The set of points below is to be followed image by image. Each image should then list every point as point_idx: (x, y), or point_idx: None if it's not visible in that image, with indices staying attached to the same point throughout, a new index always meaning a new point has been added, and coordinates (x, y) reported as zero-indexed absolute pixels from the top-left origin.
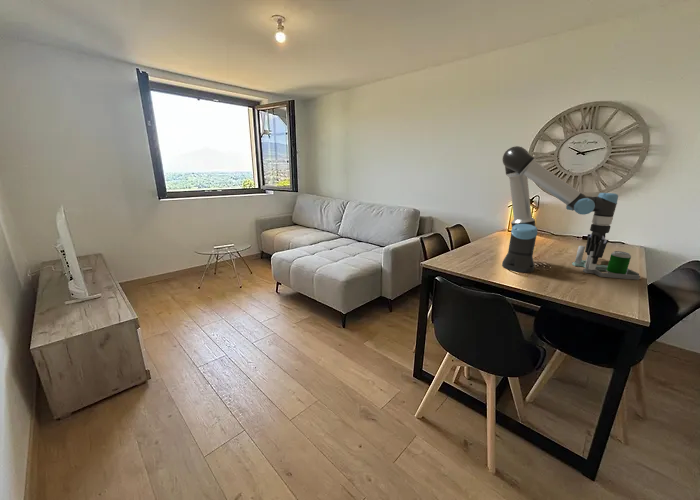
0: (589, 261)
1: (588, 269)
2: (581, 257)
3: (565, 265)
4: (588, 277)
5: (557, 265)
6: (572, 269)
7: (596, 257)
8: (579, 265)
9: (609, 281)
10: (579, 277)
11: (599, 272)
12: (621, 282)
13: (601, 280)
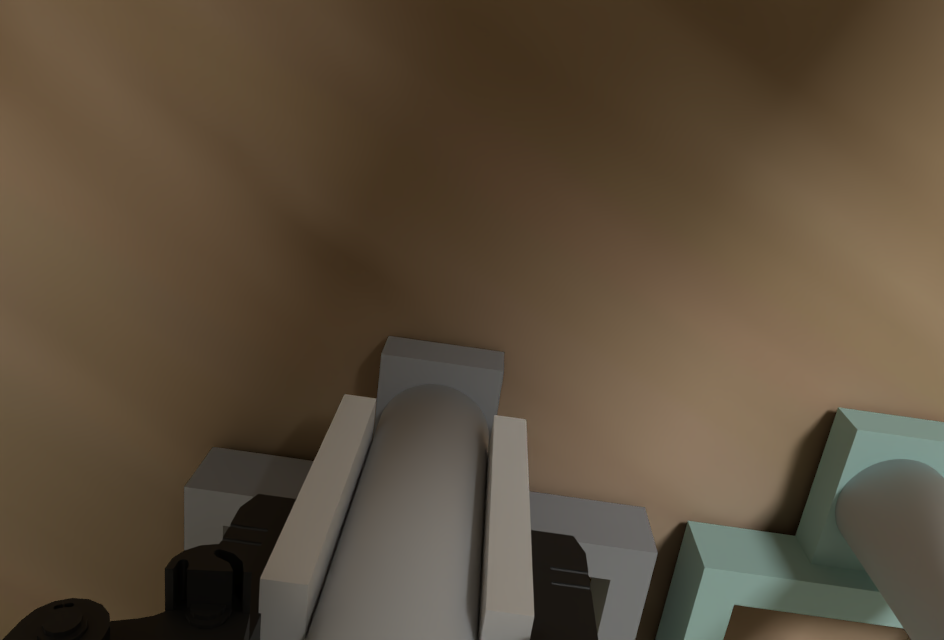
0: (381, 499)
1: (394, 406)
2: (907, 621)
3: (898, 240)
4: (138, 219)
5: (912, 34)
6: (617, 217)
7: (70, 612)
8: (818, 492)
9: (14, 447)
10: (85, 19)
11: (232, 490)
12: (25, 590)
13: (26, 350)
